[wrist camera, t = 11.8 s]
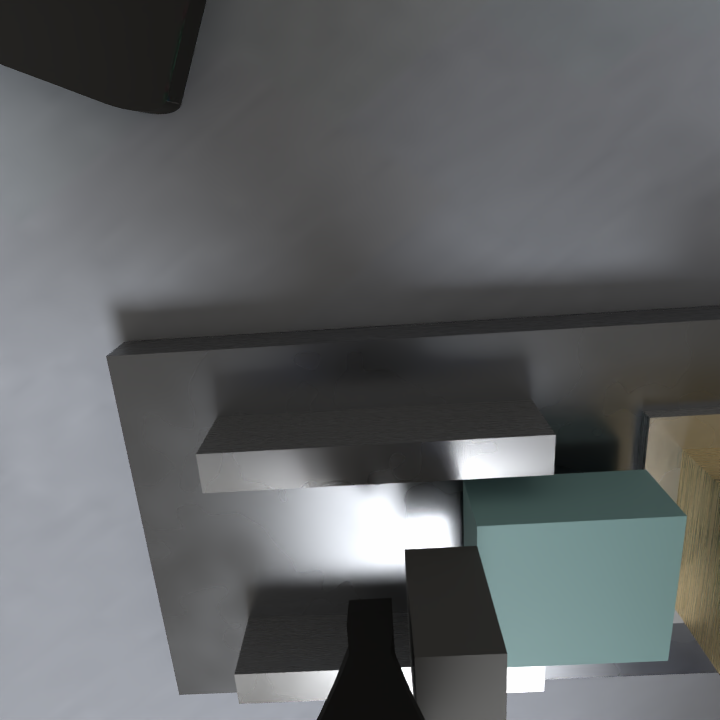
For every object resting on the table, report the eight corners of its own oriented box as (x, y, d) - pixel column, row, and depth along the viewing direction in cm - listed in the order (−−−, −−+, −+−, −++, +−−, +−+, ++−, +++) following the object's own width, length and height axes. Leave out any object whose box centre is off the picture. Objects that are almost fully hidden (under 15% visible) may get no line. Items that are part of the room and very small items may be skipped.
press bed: (895, 295, 15) (1025, 329, 12) (816, 636, 19) (902, 728, 16) (125, 341, 16) (68, 386, 13) (190, 663, 20) (158, 756, 16)
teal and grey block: (645, 469, 15) (777, 618, 10) (632, 601, 16) (743, 788, 11) (398, 482, 15) (413, 635, 10) (405, 611, 16) (421, 799, 12)
